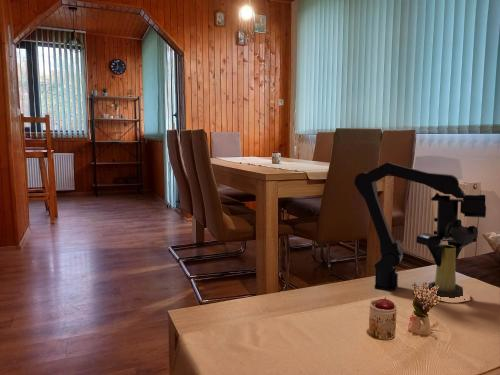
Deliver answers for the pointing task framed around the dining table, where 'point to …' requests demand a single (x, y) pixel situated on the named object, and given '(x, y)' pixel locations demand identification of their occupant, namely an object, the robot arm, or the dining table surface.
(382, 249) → the robot arm
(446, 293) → the stand
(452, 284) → the vase
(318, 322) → the dining table surface
